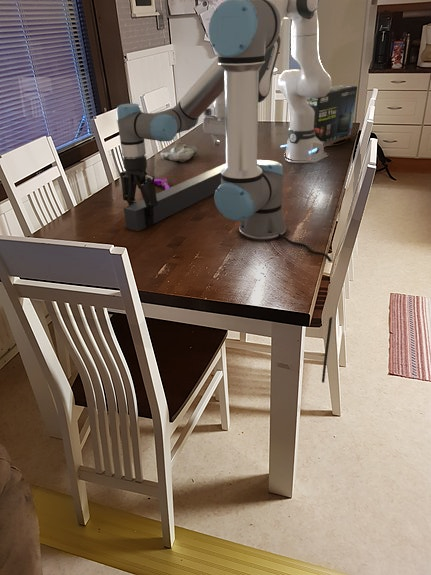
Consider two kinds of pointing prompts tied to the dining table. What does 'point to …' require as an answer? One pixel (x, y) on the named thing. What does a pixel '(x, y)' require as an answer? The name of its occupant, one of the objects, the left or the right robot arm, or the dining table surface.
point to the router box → (334, 112)
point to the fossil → (179, 152)
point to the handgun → (162, 182)
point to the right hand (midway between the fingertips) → (226, 146)
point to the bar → (174, 198)
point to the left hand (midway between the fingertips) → (142, 222)
